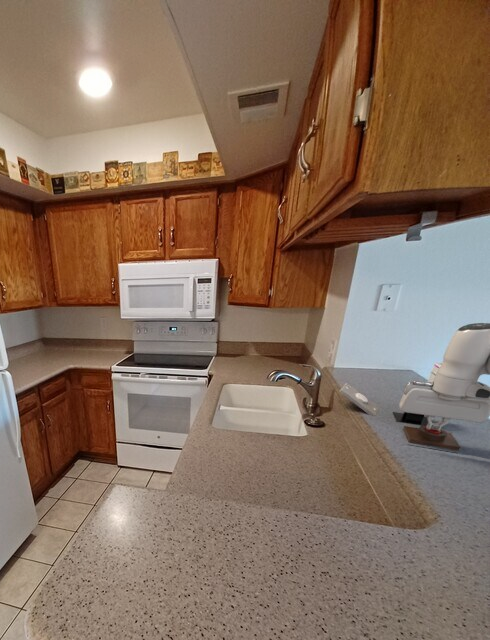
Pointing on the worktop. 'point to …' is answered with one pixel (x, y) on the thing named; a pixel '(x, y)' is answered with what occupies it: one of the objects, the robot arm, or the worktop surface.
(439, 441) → the button box
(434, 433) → the button
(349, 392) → the light switch
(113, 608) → the worktop surface
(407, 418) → the bracket
